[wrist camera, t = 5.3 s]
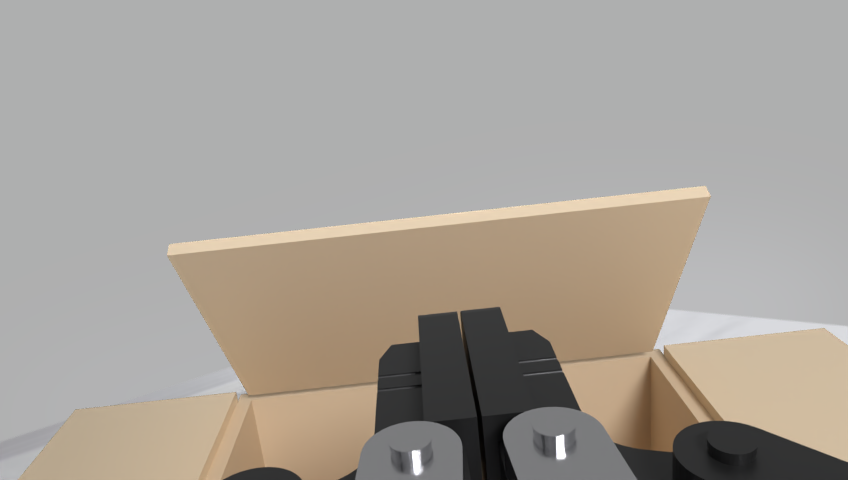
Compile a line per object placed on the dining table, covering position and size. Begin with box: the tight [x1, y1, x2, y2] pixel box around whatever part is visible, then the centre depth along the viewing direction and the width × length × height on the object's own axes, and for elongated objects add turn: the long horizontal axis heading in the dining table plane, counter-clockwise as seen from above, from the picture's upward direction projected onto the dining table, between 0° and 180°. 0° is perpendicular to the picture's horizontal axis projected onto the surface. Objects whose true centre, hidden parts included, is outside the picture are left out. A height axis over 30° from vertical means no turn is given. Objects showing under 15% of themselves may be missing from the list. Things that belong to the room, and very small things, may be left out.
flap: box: [167, 186, 711, 395], centre depth 22 cm, size 15×1×8 cm, turn 93°
